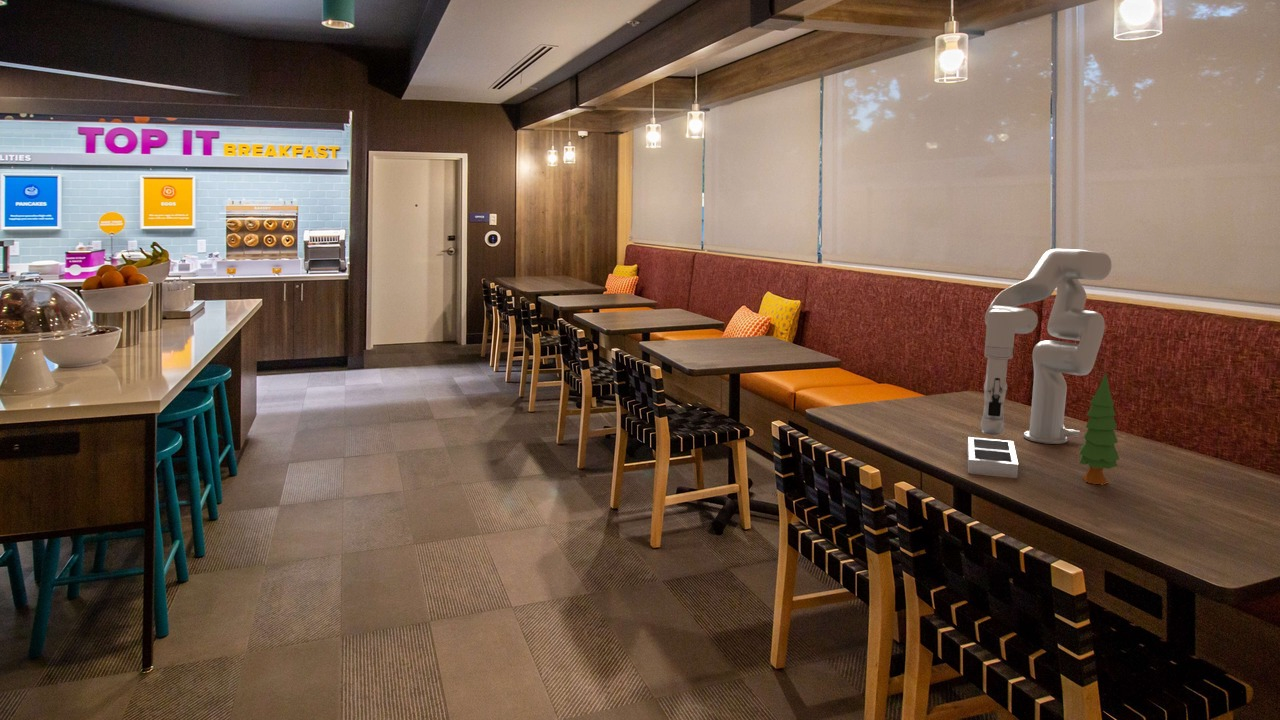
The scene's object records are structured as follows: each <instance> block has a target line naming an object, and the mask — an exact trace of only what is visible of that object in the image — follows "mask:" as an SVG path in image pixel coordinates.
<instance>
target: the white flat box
mask: <svg viewBox="0 0 1280 720" xmlns="http://www.w3.org/2000/svg"><path fill="white" fill-rule="evenodd" d="M966 449H967V451H966V452H967V473H968V474H971V475H980V476H981V475H982V476H989V477H990V476H991V477H999V478H1007V479H1008V478H1011V479H1018V472H1019V461H1018V457H1017V452H1016V448H1015V442H1014V441H1013V440H1007V439H1006V440H1003V439H994V438H984V437H983V438H982V437H973V436H972V437H971V436H968V437H967V447H966Z"/></svg>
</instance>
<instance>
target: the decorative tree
mask: <svg viewBox="0 0 1280 720" xmlns="http://www.w3.org/2000/svg"><path fill="white" fill-rule="evenodd" d="M1089 403H1090V404H1091V406H1090V408H1089V409H1088V410H1089V411H1088V412H1087V414H1086V415H1087V416H1088V417H1089V418H1088V420H1087V424H1086V425H1085V429H1086V428H1087V430H1086V432H1085V434H1084V435H1083V437H1082V438H1084V439H1085V441H1084V443H1083V444H1082V445H1081V447H1080V449H1079V455H1080V458H1079V464H1081V465H1088V469H1087V471H1086V473H1085V474H1084V475H1083V476H1082V480H1083V479H1084V480H1085V481H1086V482H1088V483H1087V484H1089V483H1094V484H1093V485H1095V484H1104V483H1106V482H1108V481H1109V480H1107V478H1106V477H1105V475H1104V474H1103V472H1104V469H1108V470H1111V469H1113V468H1115V467H1117V466H1118V464H1117V461H1119V460H1120V457H1119V454H1118V451H1117V449H1116V446H1115V444H1117V443H1119V441H1118V439H1117V436H1116V434H1115V431H1114V430H1116V429H1118V427H1117V423H1116V420H1115V417H1114V416H1116V412H1115V409H1114V406H1115V404H1114V401H1113V398H1112V395H1111V389H1110V384H1109V379H1108V376H1107V372H1106V371H1105V372H1104V375H1103V377H1102V380H1101V382H1100V385H1099V387H1098V389H1097V391H1096V392H1095V394H1094V395H1093V397H1092V398H1091V400H1090V402H1089ZM1084 480H1083V481H1084ZM1085 481H1084V482H1085ZM1086 482H1085V483H1086ZM1108 483H1109V482H1108Z"/></svg>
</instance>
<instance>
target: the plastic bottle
mask: <svg viewBox="0 0 1280 720" xmlns="http://www.w3.org/2000/svg"><path fill="white" fill-rule="evenodd" d="M994 384H995V381H994ZM985 387H986V381H984V384H983V392H984V393H983V394H984V403H983V404H984V406H983V411H982V413H983V414H982V417H981V421H980V430H981V432H982V433H984V434H986V435H991V436H992V435H993V436H995V435H997V436H998V435H1002V434H1003V433H1004V430H1005V420H1004V419H1005V418H1004V408H1005V406H1004V405H1005V399H1006V395H1007V392H1008V391H1007V390H1008V382H1007V381H1005V388H1004V392H1003V393H1001V402H1000V403H1001V411H1000V416H989V415H988V409H989V402H990V395H991V391H988V392H986V390H985ZM1001 390H1002V388H1001ZM992 391H994V389H993V387H992ZM999 392H1000V389H999ZM993 395H994V394H993Z"/></svg>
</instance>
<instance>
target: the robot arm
mask: <svg viewBox="0 0 1280 720" xmlns="http://www.w3.org/2000/svg"><path fill="white" fill-rule="evenodd" d="M1112 265H1113V264H1112V259H1111V257H1110V256H1109V255H1108V254H1107V253H1106V252H1101V251H1092V250H1086V249H1075V248H1074V249H1073V248H1072V249H1071V248H1052V249H1051V248H1050V249H1049V250H1046V251H1045V252H1044V253H1043V254H1042V255H1041V257H1040V258H1039V260H1038V261H1037V262H1036V264H1035V266H1034V267H1033V268H1032V270H1031V271H1030V273H1028V275H1027V277H1026V278H1025V279H1023V280H1021V281H1018V282H1016V283H1014V284H1012V285H1011V286H1009V287H1007V288H1005V289H1003V290H1001V292H999V293H998V294H997V295H996V296H995V297H994V298H993V300H992V301H991V302H990V305H989V306H988V308H987V309H986V312H985V315H984V323H985V325H986V329H985V341H984V343H985V345H984V355H983V356H984V357H985V358H987V361H986V371H985V381H986V387H985V390H986V392H988V391H991V395H990V402H989V409H988V415H989V416H1000V411H1001V403H1000V402H1001V393H1003V392H1004V388H1005V381H1006V380H1007V373H1008V372H1007V371H1008V362H1009V361H1008V360H1012V359H1013V356H1014V344H1015V343H1014V342H1015V334H1021V335H1024V334H1025V335H1026V334H1029V333H1032V332H1033V331H1034V330H1035V329H1036V327H1037V325H1038V323H1039V319H1038V318H1039V317H1038V314H1037V313H1036V312H1035V311H1034V310H1033V309H1031V308H1027V307H1018V306H1022V305H1025V304H1030V303H1034V302H1039V301H1043V300H1046V299H1047V298H1049V297H1051V295H1052V294H1053V293H1054V291H1055V290H1056V295H1055V299H1054V303H1053V304H1052V305H1053V306H1052V308H1051V311H1050V315H1049V318H1048V322H1047V333H1048V334H1049V335H1050V336H1052V337H1054V338H1057V339H1063V340H1069V341H1071V340H1072V341H1079V343H1076V342H1075V343H1073V342H1068V341H1062V340H1061V341H1060V340H1051V339H1049V340H1047V339H1046V340H1042V341H1039V342H1037V343H1036V344H1035V345H1034V347H1033V348H1032V349H1033V350H1032V355H1031V356H1032V367H1033V385H1032V395H1031V397H1032V399H1031V410H1030V421H1029V430H1026V431H1024V432H1023V438H1025V440H1028V441H1031V442H1035V443H1040V444H1046V445H1048V444H1050V445H1060V444H1065V443H1068V437H1075V438H1076V437H1077V438H1079V437H1080V430H1075V429H1072V428H1071V429H1070V428H1069V429H1068V428H1066V427H1065V425H1064V421H1065V420H1064V419H1065V412H1066V411H1065V410H1066V401H1067V400H1066V399H1067V389H1068V385H1067V382H1066V380H1065V377H1064V375H1063V374H1069V375H1075V376H1086V375H1088V374H1089V373H1091V372H1092V370H1093V367H1094V366H1095V362H1096V360H1097V356H1098V353H1099V351H1100V346H1101V343H1102V341H1103V338H1104V335H1105V334H1104V333H1105V329H1106V325H1105V318H1104V316H1103V315H1102V314H1101V313H1100V312H1098V311H1094V310H1085V306H1086V301H1087V297H1088V296H1087V293H1086V290H1085V288H1084V287H1083V285H1082V284H1081V282H1080V280H1088V281H1102V280H1103V281H1104V279H1106V278H1107V277H1108V276H1109V274H1110V272H1111V270H1112ZM985 381H984V382H985ZM994 381H995V384H994ZM1006 382H1007V381H1006ZM992 387H993V389H994V391H992ZM1001 388H1002V390H1001ZM999 389H1000V392H999ZM993 394H994V395H993Z"/></svg>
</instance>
